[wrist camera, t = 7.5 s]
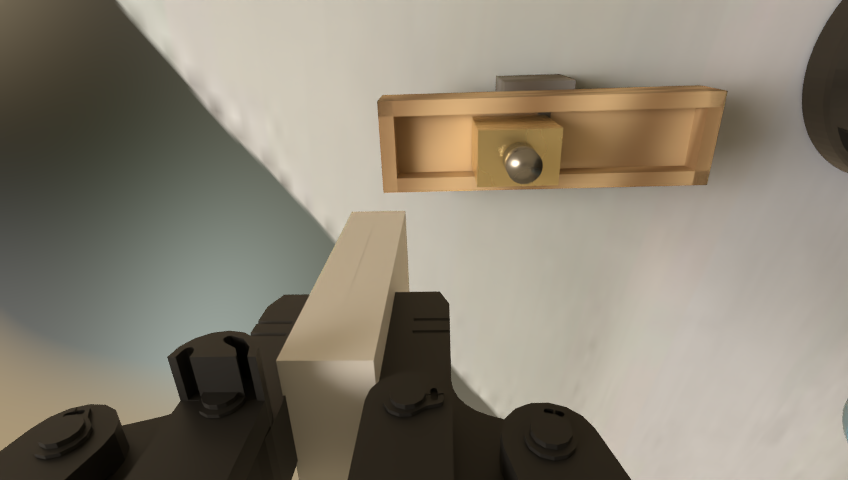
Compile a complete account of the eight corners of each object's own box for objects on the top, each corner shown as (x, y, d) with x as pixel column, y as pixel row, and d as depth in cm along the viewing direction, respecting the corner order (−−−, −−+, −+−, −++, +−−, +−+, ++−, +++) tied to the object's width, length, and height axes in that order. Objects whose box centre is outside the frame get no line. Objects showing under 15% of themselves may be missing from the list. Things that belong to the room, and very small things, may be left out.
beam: (669, 70, 30) (729, 80, 24) (653, 162, 32) (704, 193, 26) (388, 79, 30) (376, 91, 24) (393, 169, 33) (384, 201, 27)
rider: (544, 114, 26) (572, 135, 21) (541, 164, 27) (566, 195, 22) (471, 116, 26) (481, 137, 21) (471, 166, 27) (480, 197, 22)
